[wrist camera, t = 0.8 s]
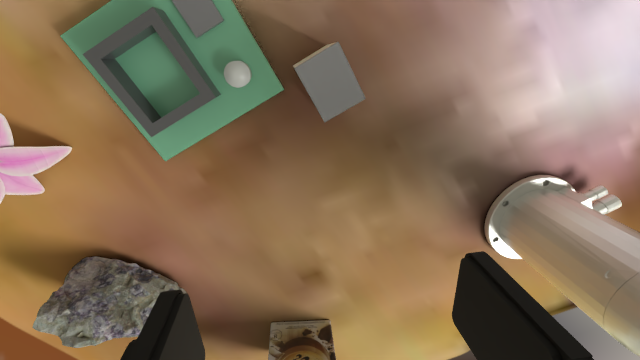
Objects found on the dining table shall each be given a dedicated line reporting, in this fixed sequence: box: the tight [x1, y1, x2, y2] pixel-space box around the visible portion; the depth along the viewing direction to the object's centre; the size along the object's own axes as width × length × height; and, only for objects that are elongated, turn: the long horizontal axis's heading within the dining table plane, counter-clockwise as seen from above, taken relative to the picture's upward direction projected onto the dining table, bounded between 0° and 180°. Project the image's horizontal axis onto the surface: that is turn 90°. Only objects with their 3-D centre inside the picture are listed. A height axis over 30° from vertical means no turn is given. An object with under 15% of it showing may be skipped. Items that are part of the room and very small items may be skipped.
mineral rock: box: [33, 256, 187, 348], centre depth 35 cm, size 13×11×10 cm
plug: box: [293, 42, 366, 122], centre depth 28 cm, size 4×5×8 cm
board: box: [61, 0, 284, 161], centre depth 28 cm, size 15×14×4 cm
